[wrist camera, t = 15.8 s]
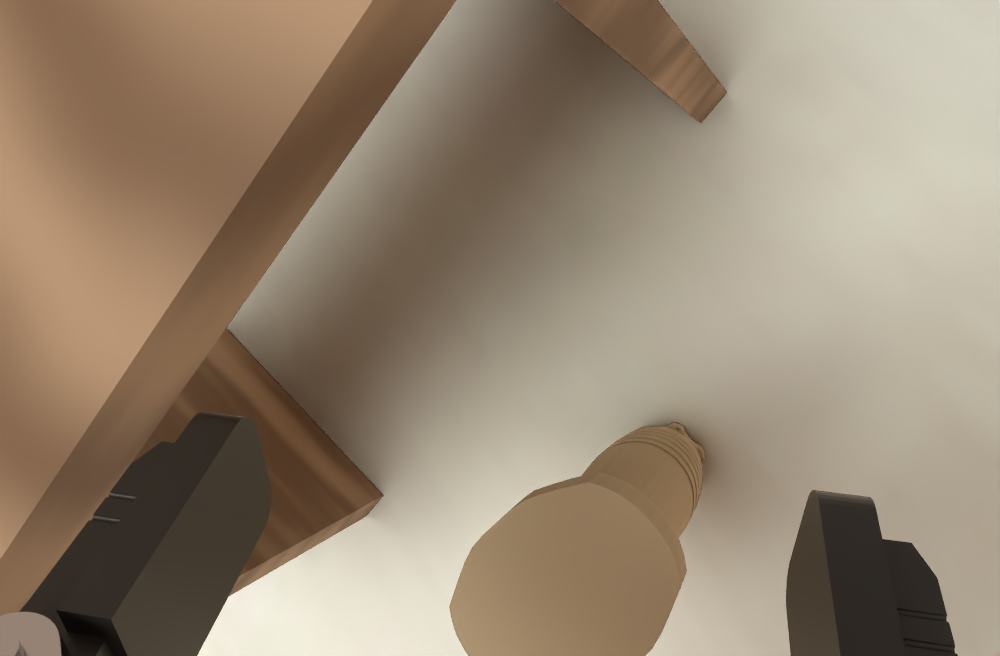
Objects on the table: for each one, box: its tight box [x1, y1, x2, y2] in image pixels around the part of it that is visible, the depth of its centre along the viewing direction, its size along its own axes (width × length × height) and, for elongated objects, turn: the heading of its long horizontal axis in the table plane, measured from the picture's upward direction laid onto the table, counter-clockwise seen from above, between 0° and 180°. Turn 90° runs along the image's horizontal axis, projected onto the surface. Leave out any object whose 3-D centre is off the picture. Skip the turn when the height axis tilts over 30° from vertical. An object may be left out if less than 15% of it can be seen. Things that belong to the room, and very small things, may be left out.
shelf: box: [0, 0, 727, 616], centre depth 28 cm, size 25×12×24 cm, turn 139°
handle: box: [449, 423, 705, 656], centre depth 29 cm, size 5×6×15 cm
